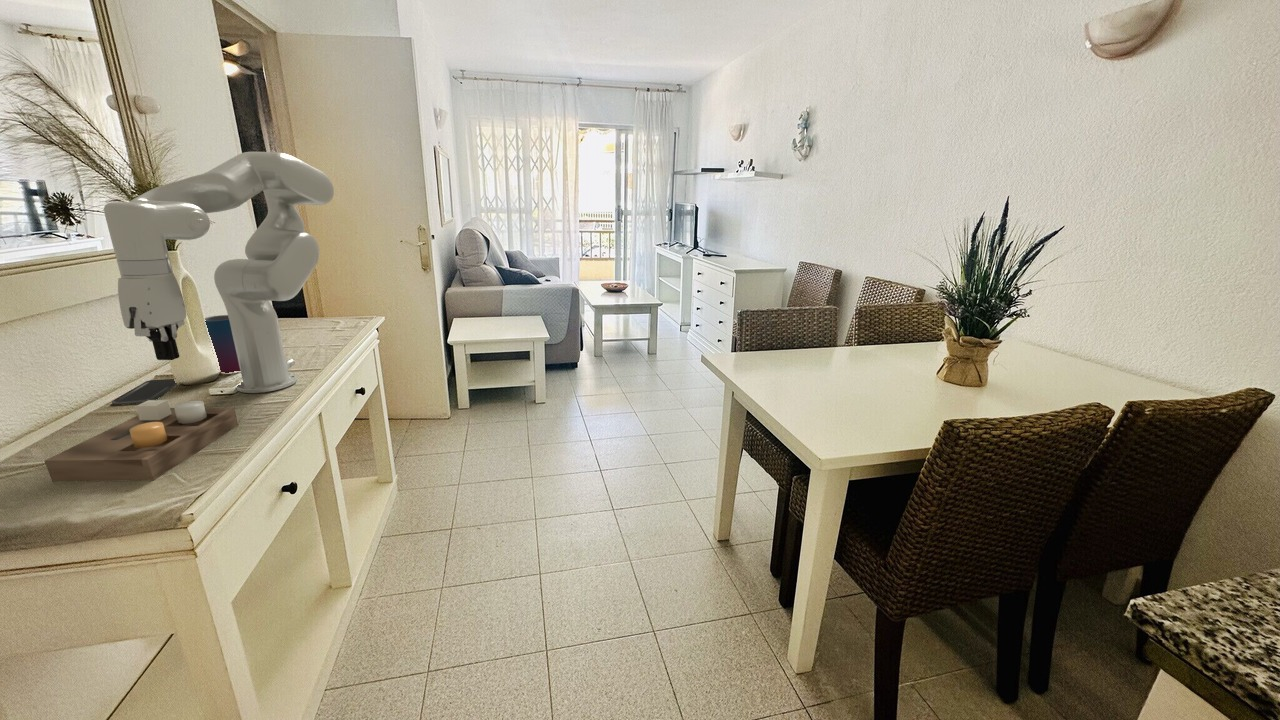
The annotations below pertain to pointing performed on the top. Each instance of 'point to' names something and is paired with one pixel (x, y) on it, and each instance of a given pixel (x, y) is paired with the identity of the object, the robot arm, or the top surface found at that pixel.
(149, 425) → the orange button
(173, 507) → the top surface
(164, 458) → the control panel
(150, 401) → the slider knob
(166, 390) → the phone
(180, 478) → the top surface
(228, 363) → the cup
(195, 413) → the grey button
